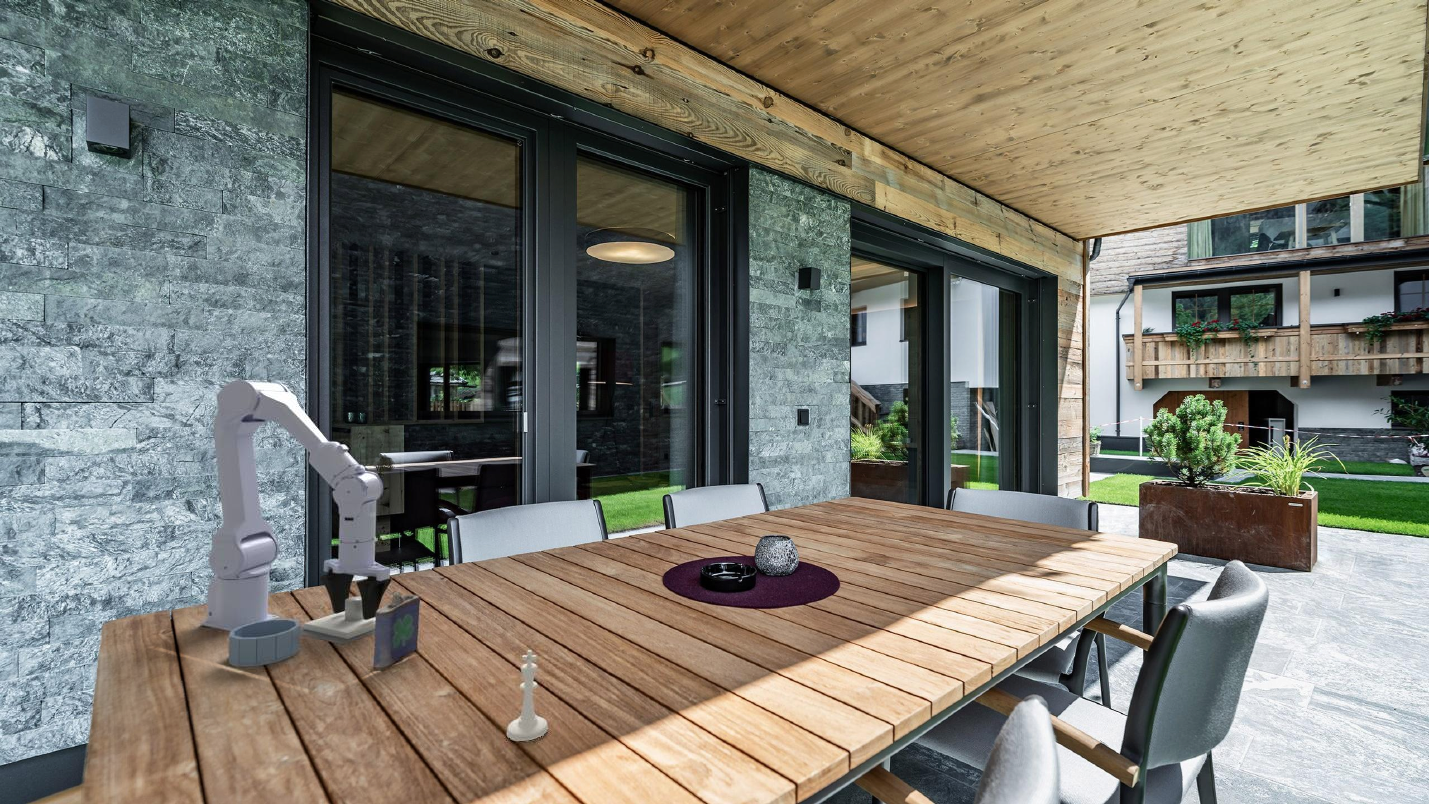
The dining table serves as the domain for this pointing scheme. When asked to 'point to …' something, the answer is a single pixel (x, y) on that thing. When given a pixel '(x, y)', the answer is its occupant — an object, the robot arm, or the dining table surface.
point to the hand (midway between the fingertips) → (354, 615)
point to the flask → (396, 630)
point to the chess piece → (527, 707)
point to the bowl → (264, 642)
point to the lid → (344, 621)
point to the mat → (331, 637)
